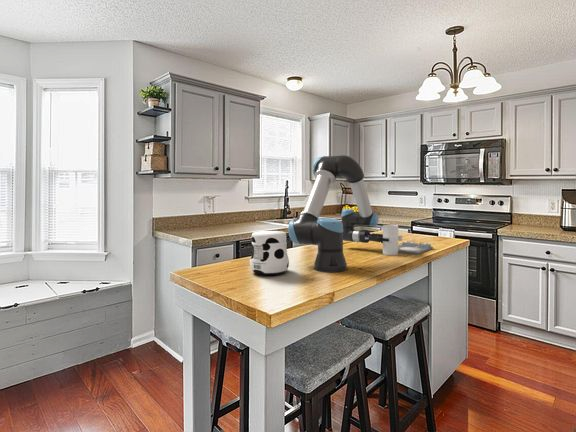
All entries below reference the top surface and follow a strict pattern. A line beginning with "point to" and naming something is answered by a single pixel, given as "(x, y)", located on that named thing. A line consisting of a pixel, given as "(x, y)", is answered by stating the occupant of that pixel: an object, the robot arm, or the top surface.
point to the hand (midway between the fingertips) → (398, 239)
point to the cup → (392, 233)
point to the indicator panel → (414, 247)
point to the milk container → (269, 252)
